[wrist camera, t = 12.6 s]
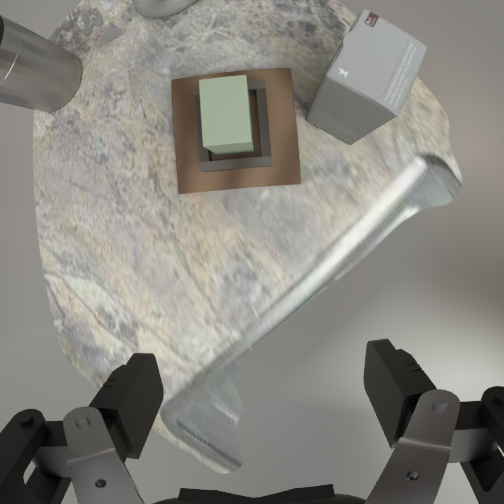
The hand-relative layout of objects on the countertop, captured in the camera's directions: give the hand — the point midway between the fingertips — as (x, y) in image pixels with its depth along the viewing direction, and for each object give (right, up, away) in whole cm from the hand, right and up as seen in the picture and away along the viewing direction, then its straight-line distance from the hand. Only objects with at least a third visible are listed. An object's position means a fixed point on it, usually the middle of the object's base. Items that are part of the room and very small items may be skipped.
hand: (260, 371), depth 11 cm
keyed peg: (-2, +18, +23) cm, 30 cm away
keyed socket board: (-2, +19, +25) cm, 31 cm away
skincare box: (+10, +22, +24) cm, 34 cm away
